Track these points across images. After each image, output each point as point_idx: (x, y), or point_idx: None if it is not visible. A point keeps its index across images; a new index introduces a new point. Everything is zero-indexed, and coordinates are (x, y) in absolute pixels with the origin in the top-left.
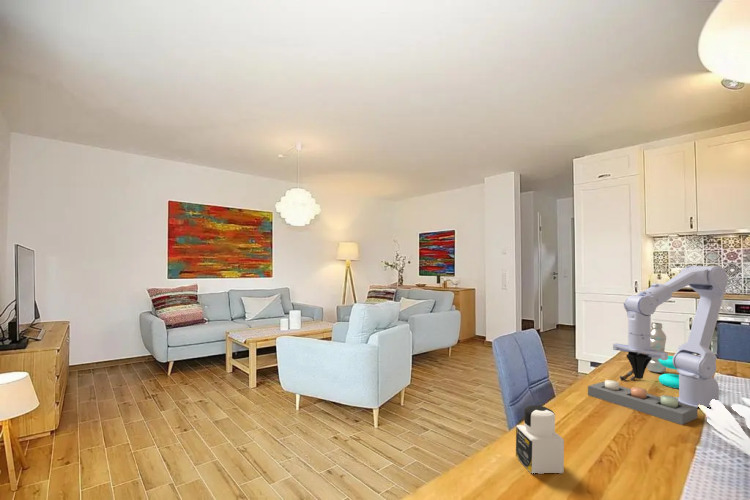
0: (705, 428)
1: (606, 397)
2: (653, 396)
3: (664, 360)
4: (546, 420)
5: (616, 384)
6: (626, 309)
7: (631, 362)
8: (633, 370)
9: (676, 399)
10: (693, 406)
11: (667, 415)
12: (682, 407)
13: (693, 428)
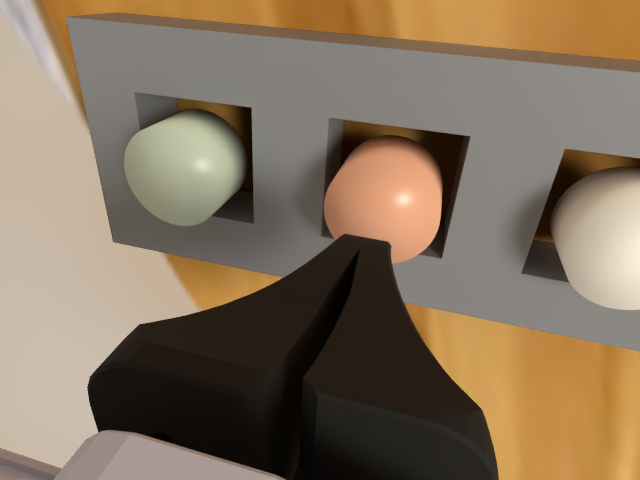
0: (56, 78)
1: (629, 62)
2: None
3: None
4: None
5: (580, 221)
6: None
7: (398, 341)
8: (389, 274)
9: (131, 175)
10: (128, 242)
11: (171, 22)
12: None
13: (70, 12)
